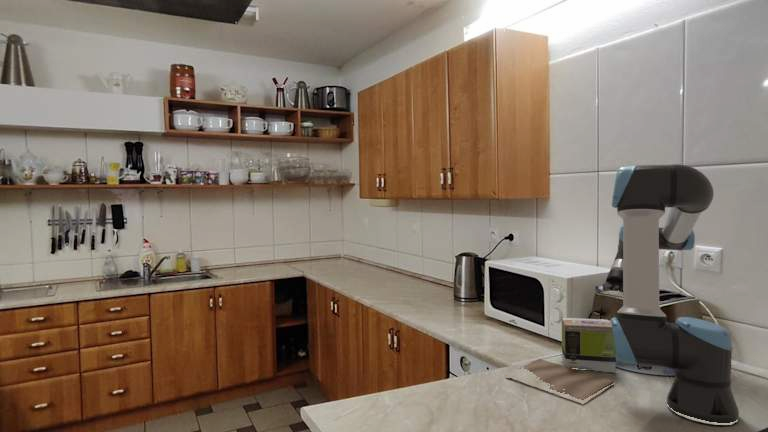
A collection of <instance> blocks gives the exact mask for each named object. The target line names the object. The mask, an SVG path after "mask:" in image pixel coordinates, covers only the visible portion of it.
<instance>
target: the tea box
mask: <svg viewBox="0 0 768 432" xmlns="http://www.w3.org/2000/svg"><path fill="white" fill-rule="evenodd" d="M561 359H562V362H563V366H566V367H569V368H578V369H586V370H595V371H594V372H598V371H602V372H601V373H610V372H612V373H611V374H616V372H617V356H616V352H615V347H614V340H613V333H612V323H611V320H610V321H609V320H608V319H596V318H584V317H583V318H581V317H561Z"/></svg>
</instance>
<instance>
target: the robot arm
mask: <svg viewBox="0 0 768 432" xmlns="http://www.w3.org/2000/svg"><path fill="white" fill-rule="evenodd" d="M714 193H715V192H714V187H713V185H712V183H711V181H710V180H709V178H708V176H706V175H705V174H704V173H703V172H701V171H699V170H698V169H697V168H695V167H693V166H689V165H686V164H665V165H664V164H652V165H651V164H649V165H648V164H647V165H646V164H644V165H643V164H641V165H640V164H638V165H637V164H635V165H632V166H631V165H629V166H622V167H619V169H617V171H616V175H615V179H614V187H613V192H612V197H611V198H612V200H611V206H612V208H614V209H617V210H616V211H617V212H616V213H617V215H618V216H619V217H620V218H621V219H622V222H623V223H622V225H621V226H620V230H619V233H618V245H617V251H616V254H615V256H614V257H615V258H614V260H613V261H612V264H611V266H610V269H609V272H608V274H607V276H606V280H605V281H604V283H603V284H602V285H601V286H598V285H596V286H595V287H594V289H595V295H596V294H597V293H600V292H605V291H609V290H614V291H618V290H619V291H623V296H622V297H623V306H622V307H621V308H620V309H619V310H618V311H617V316H613V317H611V319H610V322H611V323H612V333H613V340H614V347H615V352H616V359H618V361H620V362H621V363H624V364H625V363H626V364H632V365H635V366H639V365H640V366H648V367H653V368H654V367H655V368H663V369H671V370H675V373H674V379H673V381H672V384H671V387H670V389H669V391H668V393H667V396H666V405H667V404H668V405H669V407H670V408H672V409H673V410H674V411H676V412H679V413H681V414H684V415H687V416H690V417H694V418H697V419H701V420H705V421H709V422H717V423H730V422H734V421H736V420H737V419H738V418H739V416H740V412H739V408H738V405H737V402H736V400H735V396H734V394H733V391H732V387H731V386H732V385H731V380H732V352H733V349H734V348H733V341H732V334H731V332H730V331H729V330H728V329H727V328H725V327H724V326H722V325H720V324H718V323H714V322H713V321H712V322H711V321H708V320H704V319H700V318H695V317H687V316H685V317H684V316H680V317H677V318H676V320H675V322H674V323H673V322H667V314H665V312H664V311H662V310H661V308H660V307H661V306H660V250H665V251H666V250H667V251H680V252H681V251H692V250H693V248H694V247H695V242H696V241H695V238H696V237H695V231H694V229H693V228H694V227H695V225H696V223H697V222H698V219H699V217H700V216H701V213H702V212H705V211H706V210H708V208H709V207H710V206H711V204H712V202H713V199H714V195H715V194H714ZM666 208H670V209H669V212H668V215H667V218H666V220H665V223H664V226H663V227H660V226H659V221H660V219H661V218H662V217H663V216H664V215H666ZM739 419H740V418H739Z"/></svg>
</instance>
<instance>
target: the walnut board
mask: <svg viewBox="0 0 768 432" xmlns="http://www.w3.org/2000/svg"><path fill="white" fill-rule="evenodd" d="M523 366H524V369H527V370H529V371H530V372H533V374H535V375H536V376H537V377H540V379H539V380H543V382H546V383H549V384H550V388H549V389H552V390H556V391H557V392H560V393H563V392H565V393H564V394H569V395H570V396H572V397H575V398H577V399H581V400H584V399H586V398H588V397H589V396H591V395H593V394H595V393H597V392H598V391H600V390H602V389H603V388H605V387H607V386H609V385H611V384H613V383H614V384H615V380H612V379H610V378H606V377H603V376H600V375H595V374H593V373H588V372H586V371H584V370H576V369H572V368H569V367H566V366H565V365H563V364H558V363H555V362H551V361H548V360H546V359H541V358H538V359H536V360H534V361H533V362H532V361H531V362H530V363H528V364H525V365H523ZM519 369H521V367H519ZM537 377H536V378H537ZM551 385H554V386H551ZM548 386H549V385H548ZM563 389H565V390H563Z"/></svg>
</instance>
